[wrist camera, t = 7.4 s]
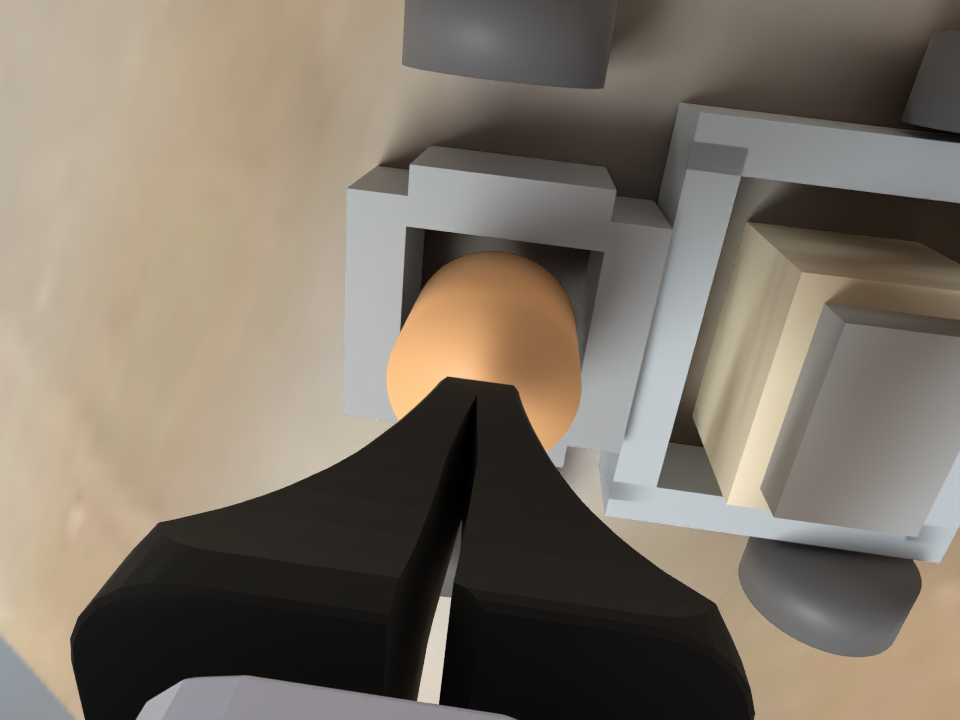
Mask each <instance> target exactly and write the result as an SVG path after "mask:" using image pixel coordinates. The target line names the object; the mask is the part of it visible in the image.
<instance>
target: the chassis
mask: <svg viewBox="0 0 960 720" xmlns="http://www.w3.org/2000/svg"><path fill="white" fill-rule="evenodd" d="M618 3H619V0H405V15H404V35H403V56H402V65H405V66H408V67H412V68H417V69H421V70H427V71H433V72H439V73H445V74H451V75H458V76H465V77H473V78H480V79H488V80H496V81H505V82H513V83H523V84H532V85H543V86H554V87H567V88H584V89H600V88H604V84H605V78H606V72H607V66H608V61H609V55H610V49H611V43H612V38H613V32H614V26H615V20H616V15H617V9H618ZM901 121H902V122H906V123H910V124H914V125H918V126H923V127H928V128H934V129H939V130H945V131H950V132H956V133H960V31H935V32H933V33H932V36H931V39H930V41H929V44H928V47H927V50H926V52H925V55H924V58H923V61H922V63H921V66H920V69H919V72H918V74H917V77H916V80H915V83H914V85H913V88H912V91H911V94H910V96H909V99H908V102H907V105H906V107H905V110H904V113H903V116H902V118H901ZM741 176H745V177H753V178H761V179H769V180H777V181H785V182H793V183H801V184H809V185H817V186H825V187H833V188H842V189H850V190H858V191H866V192H874V193H882V194H890V195H898V196H906V197H914V198H922V199H930V200H938V201H947V202H955V203H960V136H955V135H947V134H939V133H930V132H922V131H914V130H905V129H897V128H889V127H880V126H872V125H864V124H855V123H847V122H839V121H831V120H822V119H814V118H806V117H797V116H789V115H781V114H772V113H764V112H756V111H747V110H739V109H731V108H723V107H714V106H706V105H698V104H689V103H681V102H680V103H679V108H678V112H677V117H676V121H675V126H674V130H673V135H672V139H671V144H670V148H669V152H668V157H667V161H666V166H665V170H664V175H663V179H662V184H661V188H660V193H659V197H658V202H657V205H656V203H655V202H654V201H653V200H645V199H637V198H629V197H621V196H616V191H617V190H616V188H615V186H614V183H613V181H612V179H611V177H610V175H609V173H608V170H607V168H606V167H602V166H594V165H586V164H578V163H570V162H562V161H554V160H546V159H538V158H530V157H522V156H514V155H506V154H498V153H489V152H481V151H473V150H465V149H457V148H449V147H441V146H433V145H431V146H429V147H428V148H427V149H426V150H425V151H424V152H423V153H422V154H421V155H420V156H418V157H417V158H416V159H415V160H414V161H413V162H412V163H411V164H410V167H409V170H406V169H398V168H390V167H382V166H376V167H375V168H374V169H372V170H371V171H370V172H368V173H367V174H366V175H364V176H363V177H362V178H360V179H359V180H357V181H356V182H355V183H353V184H352V185H351V186H349V187H348V188H347V216H346V272H345V328H344V384H343V415H348V416H356V417H363V418H370V419H377V420H384V421H391V422H395V424H396V423H397V422H398V421H399V420H398V419H397V417H396V415H395V413H394V411H393V409H392V406H391V403H390V400H389V396H388V390H387V375H386V374H387V366H388V361H389V358H390V354H391V351H392V349H393V347H394V344H395V342H396V340H397V338H398V336H399V334H400V332H401V330H402V328H403V326H404V324H405V322H406V320H407V318H408V316H409V314H410V312H411V310H412V308H413V306H414V304H415V302H416V300H417V298H418V296H419V294H420V291H421V277H422V263H423V249H424V235H425V229H431V230H438V231H446V232H454V233H462V234H469V235H477V236H485V237H493V238H501V239H508V240H516V241H524V242H532V243H539V244H547V245H555V246H563V247H570V248H578V249H586V250H590V256H589V261H588V267H587V272H586V278H585V283H584V289H583V294H582V299H581V305H580V310H579V316H578V321H577V327H576V330H577V340H578V350H579V360H580V370H581V383H582V391H581V400H580V404H579V408H578V411H577V414H576V416H575V418H574V421H573V423H572V424H571V426H570V428H569V429H568V431H567V432H566V433H565V435H564V436H563V437H562V438H561V439H560V441H558V442H557V443H556V444H555V445H554V446H553V447H552V448H551V449H549V450H548V451H546V453H547V454H548V456H549V457H550V459H551V461H552V462H553V464H554V465H555V467H561V468H563V464H564V459H565V454H566V449H567V446H571V447H578V448H585V449H593V450H600V451H602V454H601V458H600V463H599V470H600V478H601V487H602V495H603V503H604V511H605V516H612V517H619V518H626V519H633V520H640V521H647V522H654V523H661V524H668V525H675V526H682V527H689V528H696V529H703V530H710V531H717V532H724V533H731V534H738V535H745V536H750V537H749V540H748V543H747V545H746V548H745V551H744V554H743V556H742V559H741V562H740V565H739V579H740V583H741V586H742V588H743V590H744V592H745V594H746V596H747V597H748V599H749V600H750V602H751V603H752V604H753V606H754V607H755V608H756V609H757V610H758V611H759V612H760V613H761V614H762V615H763V616H764V617H765V618H766V619H767V620H768V621H769V622H771V623H772V624H773V625H775V626H776V627H777V628H778V629H780V630H781V631H783V632H785V633H786V634H788V635H789V636H791V637H793V638H795V639H796V640H798V641H800V642H802V643H804V644H806V645H809V646H811V647H814V648H816V649H819V650H821V651H825V652H828V653H832V654H836V655H841V656H849V657H867V656H873V655H876V654H879V653H882V652H883V651H885V650H887V649H888V648H889V647H890V646H891V645H892V643H893V642H894V640H895V638H896V636H897V635H898V633H899V631H900V629H901V627H902V625H903V623H904V621H905V620H906V618H907V616H908V614H909V612H910V610H911V608H912V606H913V605H914V603H915V601H916V599H917V597H918V595H919V593H920V590H921V587H922V580H921V576H920V573H919V570H918V568H917V566H916V565H915V563H914V561H913V560H912V559H914V560H921V561H928V562H935V563H940V561H941V559H942V557H943V556H944V554H945V552H946V550H947V548H948V546H949V544H950V543H951V541H952V539H953V537H954V535H955V533H956V531H957V529H958V528H959V526H960V452H959V454H958V456H957V458H956V460H955V462H954V464H953V466H952V468H951V470H950V472H949V474H948V476H947V478H946V480H945V482H944V484H943V486H942V488H941V490H940V492H939V494H938V496H937V498H936V500H935V502H934V504H933V506H932V508H931V510H930V512H929V514H928V516H927V518H926V520H925V522H924V524H923V527H922V529H921V531H920V533H919V535H918V537H913V536H906V535H898V534H891V533H884V532H876V531H869V530H862V529H854V528H847V527H840V526H832V525H825V524H818V523H810V522H803V521H796V520H788V519H781V518H774V517H773V515H772V513H771V511H770V510H763V509H756V508H749V507H741V506H734V505H726V502H725V500H724V497H723V494H722V492H721V489H720V487H719V484H718V481H717V479H716V476H715V474H714V471H713V469H712V466H711V463H710V461H709V458H708V456H707V453H706V450H705V448H704V447H700V446H692V445H685V444H678V443H671V442H669V439H670V436H671V432H672V428H673V425H674V421H675V417H676V414H677V410H678V406H679V403H680V399H681V395H682V392H683V388H684V384H685V381H686V377H687V373H688V370H689V366H690V362H691V359H692V355H693V351H694V348H695V344H696V340H697V337H698V333H699V329H700V326H701V322H702V318H703V315H704V311H705V307H706V304H707V300H708V296H709V293H710V289H711V285H712V282H713V278H714V274H715V271H716V267H717V263H718V260H719V256H720V252H721V249H722V245H723V241H724V238H725V234H726V230H727V227H728V223H729V219H730V216H731V212H732V208H733V205H734V201H735V198H736V194H737V190H738V187H739V183H740V179H741ZM461 526H462V521H461V524H460V528H459V531H458V535H457V538H456V542H455V545H454V549H453V552H452V556H451V559H450V563H449V566H448V570H447V573H446V577H445V580H444V583H443V587H442V590H441V594H440V596H443V597H452V589H453V581H454V577H455V573H456V568H457V564H458V559H459V555H460V545H461Z"/></svg>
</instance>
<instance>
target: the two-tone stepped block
mask: <svg viewBox="0 0 960 720" xmlns="http://www.w3.org/2000/svg"><path fill="white" fill-rule="evenodd" d="M692 417H693V419H694V422H695V424H696V427H697V430H698V432H699V435H700V437H701V440H702V443H703V445H704V448H705V450H706V453H707V456H708V458H709V461H710V463H711V466H712V469H713V471H714V474H715V476H716V479H717V481H718V484H719V487H720V489H721V492H722V494H723V497H724V500H725V502H726V505H734V506H741V507H749V508H756V509H763V510H770V511H771V513H772V515H773V517H774V518H781V519H788V520H796V521H803V522H810V523H818V524H825V525H832V526H840V527H847V528H854V529H862V530H869V531H876V532H884V533H891V534H898V535H906V536H913V537H918V535H919V533H920V531H921V529H922V527H923V524H924V522H925V520H926V518H927V516H928V514H929V512H930V510H931V508H932V506H933V504H934V502H935V500H936V498H937V496H938V494H939V492H940V490H941V488H942V486H943V484H944V482H945V480H946V478H947V476H948V474H949V472H950V470H951V468H952V466H953V464H954V462H955V460H956V458H957V456H958V454H959V452H960V264H959V263H957V262H955V261H953V260H951V259H949V258H948V257H946V256H944V255H942V254H940V253H938V252H936V251H935V250H933V249H931V248H929V247H927V246H925V245H924V244H922V243H920V242H914V241H906V240H897V239H889V238H880V237H872V236H864V235H855V234H847V233H839V232H830V231H822V230H814V229H805V228H797V227H788V226H780V225H772V224H763V223H755V222H747V221H746V224H745V227H744V231H743V235H742V238H741V242H740V245H739V249H738V253H737V256H736V260H735V264H734V267H733V271H732V274H731V278H730V282H729V285H728V289H727V292H726V296H725V300H724V303H723V307H722V310H721V314H720V318H719V321H718V325H717V328H716V332H715V336H714V339H713V343H712V346H711V350H710V354H709V357H708V361H707V364H706V368H705V372H704V375H703V379H702V382H701V386H700V390H699V393H698V397H697V400H696V404H695V408H694V411H693V415H692Z"/></svg>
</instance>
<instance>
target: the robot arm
mask: <svg viewBox="0 0 960 720" xmlns="http://www.w3.org/2000/svg"><path fill="white" fill-rule="evenodd" d="M461 521H462V526H461V545H460V555H459V559H458V564H457V568H456V573H455V577H454V581H453V589H452V598H451V606H450V615H449V623H448V632H447V640H446V649H445V657H444V666H443V674H442V683H441V691H440V700H439V705H437V704H431V703H424V702H418V701H417V698H418V692H419V687H420V681H421V676H422V670H423V665H424V659H425V654H426V648H427V643H428V639H429V635H430V630H431V626H432V622H433V618H434V615H435V611H436V608H437V604H438V601H439V597H440V594H441V590H442V587H443V583H444V580H445V577H446V573H447V570H448V566H449V563H450V559H451V556H452V552H453V549H454V545H455V542H456V538H457V535H458V531H459V528H460V524H461ZM70 643H71V662H72V666H73V670H74V674H75V679H76V683H77V687H78V692H79V696H80V700H81V704H82V709H83V713H84V717H85V720H754V716H755V711H754V705H753V700H752V694H751V689H750V686H749V683H748V680H747V677H746V673H745V670H744V667H743V664H742V661H741V658H740V656H739V654H738V651H737V649H736V647H735V644H734V642H733V640H732V637H731V635H730V633H729V631H728V629H727V627H726V625H725V623H724V621H723V618H722V616H721V614H720V612H719V610H718V607H717V605H716V604H715V603H714V602H712V601H711V600H709V599H707V598H706V597H704V596H703V595H701V594H699V593H698V592H696V591H694V590H693V589H691V588H690V587H688V586H686V585H685V584H683V583H682V582H680V581H678V580H677V579H675V578H673V577H672V576H670V575H669V574H667V573H665V572H664V571H663V570H661V569H660V568H658V567H657V566H656V565H654V564H653V563H652V562H650V561H649V560H648V559H646V558H645V557H644V556H642V555H641V554H639V553H638V552H637V551H635V550H634V549H633V548H632V547H630V546H629V545H628V544H627V543H626V542H624V541H623V540H622V539H621V538H620V537H618V536H617V535H616V534H615V533H614V532H613V531H612V530H611V529H610V528H609V527H607V526H606V525H605V524H604V523H603V522H602V521H601V520H600V519H599V518H598V517H597V516H596V515H595V514H594V513H593V512H592V511H591V510H590V509H589V508H588V507H587V506H586V505H585V504H584V503H583V502H582V501H581V499H580V498H579V497H578V496H577V495H576V494H575V492H574V491H573V490H572V489H571V488H570V486H569V485H568V484H567V482H566V481H565V480H564V478H563V477H562V475H561V474H560V473H559V471H558V470H557V468H556V467H555V465H554V464H553V462H552V461H551V459H550V457H549V456H548V454H547V453H546V451H545V449H544V448H543V446H542V444H541V442H540V440H539V438H538V437H537V435H536V433H535V431H534V429H533V427H532V425H531V423H530V421H529V419H528V416H527V414H526V412H525V410H524V407H523V404H522V402H521V398H520V395H519V391H518V390H517V389H516V387H515V386H514V385H508V384H500V383H493V382H486V381H478V380H471V379H464V378H456V377H449V376H447V377H446V378H444V379H443V380H441V381H440V382H439V383H438V384H437V386H436V387H435V388H434V389H433V390H432V391H431V392H430V393H429V394H428V395H427V396H426V397H425V398H424V399H423V400H422V401H421V402H420V403H419V404H418V405H416V406H415V407H414V408H413V409H412V410H411V411H410V412H409V413H407V414H406V415H405V416H404V417H403V418H402V419H401V420H399V421H398V422H397V423H396V424H395V425H393V426H392V427H391V428H389V429H388V430H387V431H385V432H384V433H383V434H381V435H380V436H379V437H377V438H376V439H375V440H373V441H372V442H371V443H369V444H368V445H367V446H365V447H364V448H362V449H361V450H359V451H358V452H356V453H355V454H353V455H351V456H349V457H348V458H346V459H344V460H342V461H341V462H339V463H337V464H335V465H333V466H331V467H329V468H327V469H325V470H323V471H321V472H319V473H316V474H314V475H312V476H310V477H308V478H305V479H303V480H301V481H299V482H297V483H294V484H292V485H290V486H287V487H285V488H282V489H280V490H277V491H274V492H271V493H269V494H266V495H263V496H260V497H257V498H254V499H251V500H248V501H245V502H242V503H238V504H235V505H232V506H228V507H225V508H221V509H217V510H213V511H208V512H204V513H200V514H196V515H191V516H187V517H183V518H179V519H175V520H170V521H165V522H160V523H158V524H157V525H156V526H155V527H154V528H153V529H152V530H151V532H150V533H149V534H148V535H147V536H146V537H145V538H144V539H143V540H142V541H141V542H140V543H139V544H138V545H137V546H136V547H135V548H134V549H133V550H132V551H131V553H130V554H129V555H128V556H127V557H126V559H125V560H124V561H123V562H122V563H121V565H120V566H119V567H118V568H117V570H116V571H115V572H114V573H113V575H112V576H111V577H110V578H109V580H108V581H107V582H106V583H105V585H104V586H103V587H102V588H101V589H100V591H99V592H98V593H97V594H96V596H95V597H94V598H93V599H92V601H91V602H90V603H89V604H88V606H87V607H86V608H85V609H84V611H83V612H82V613H81V614H80V616H79V617H78V619H77V622H76V624H75V627H74V630H73V633H72V635H71V638H70Z"/></svg>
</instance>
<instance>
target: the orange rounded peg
mask: <svg viewBox="0 0 960 720" xmlns="http://www.w3.org/2000/svg"><path fill="white" fill-rule="evenodd" d="M386 375H387V390H388V396H389V400H390V403H391V406H392V409H393V411H394V413H395V415H396V417H397V419H398V420H401V419H402V418H403V417H404V416H405V415H406V414H407V413H409V412H410V411H411V410H412V409H413V408H414V407H415V406H416V405H418V404H419V403H420V402H421V401H422V400H423V399H424V398H425V397H426V396H427V395H428V394H429V393H430V392H431V391H432V390H433V389H434V388H435V387H436V386H437V384H438V383H439V382H440V381H441V380H443V379H444V378H446V377H447V376H449V377H456V378H464V379H471V380H478V381H486V382H493V383H500V384H508V385H514V386H515V387H516V389H517V390H518V391H519V395H520V398H521V402H522V404H523V407H524V410H525V412H526V414H527V416H528V419H529V421H530V423H531V425H532V427H533V429H534V431H535V433H536V435H537V437H538V438H539V440H540V442H541V444H542V446H543V448H544V449H545V451H548V450H549V449H551V448H552V447H553V446H554V445H555V444H556V443H557V442H558V441H560V439H561V438H562V437H563V436H564V435H565V433H566V432H567V431H568V429H569V428H570V426H571V424H572V423H573V421H574V418H575V416H576V414H577V411H578V408H579V404H580V400H581V391H582V383H581V370H580V360H579V350H578V340H577V330H576V321H575V315H574V310H573V307H572V304H571V301H570V299H569V297H568V295H567V293H566V291H565V290H564V289H563V287H562V286H561V284H560V283H559V282H558V281H557V279H556V278H555V277H554V276H553V275H552V274H551V273H549V272H548V271H547V270H546V269H545V268H543V267H542V266H540V265H539V264H537V263H536V262H534V261H532V260H530V259H528V258H525V257H523V256H520V255H516V254H513V253H508V252H501V251H483V252H476V253H471V254H468V255H465V256H462V257H459V258H457V259H455V260H453V261H451V262H449V263H448V264H446V265H445V266H443V267H442V268H440V269H439V270H438V271H437V272H436V273H435V274H433V276H432V277H431V278H430V279H429V280H428V281H427V283H426V284H425V286H424V287H423V289H422V290H421V292H420V294H419V296H418V298H417V300H416V302H415V304H414V306H413V308H412V310H411V312H410V314H409V316H408V318H407V320H406V322H405V324H404V326H403V328H402V330H401V332H400V334H399V336H398V338H397V340H396V342H395V344H394V347H393V349H392V351H391V354H390V358H389V361H388V366H387V374H386Z"/></svg>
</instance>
